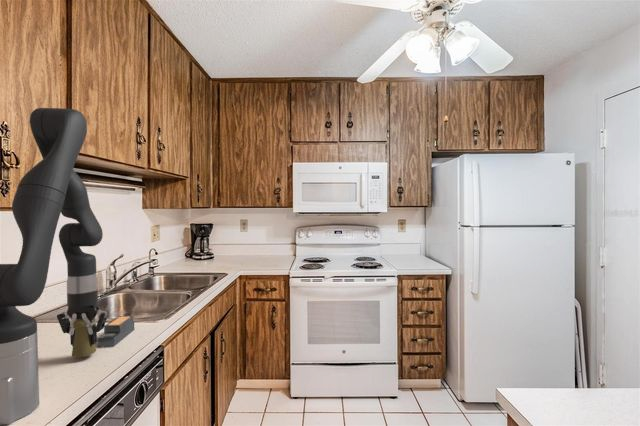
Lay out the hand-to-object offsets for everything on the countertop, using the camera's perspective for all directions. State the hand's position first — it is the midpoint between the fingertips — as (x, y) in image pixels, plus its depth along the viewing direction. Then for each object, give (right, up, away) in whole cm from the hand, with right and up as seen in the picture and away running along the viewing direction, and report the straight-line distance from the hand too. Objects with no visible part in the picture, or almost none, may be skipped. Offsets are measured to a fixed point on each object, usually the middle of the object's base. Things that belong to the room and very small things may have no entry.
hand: (84, 345), depth 99 cm
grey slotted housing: (+1, -3, +14) cm, 15 cm away
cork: (0, -2, 0) cm, 2 cm away
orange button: (+1, 0, +16) cm, 16 cm away
